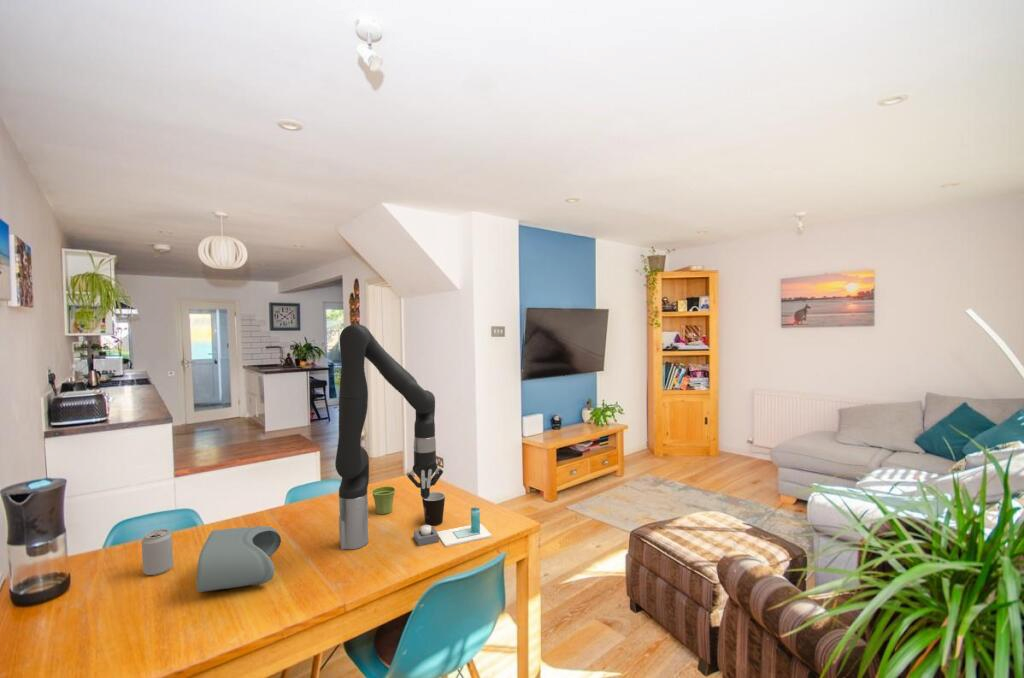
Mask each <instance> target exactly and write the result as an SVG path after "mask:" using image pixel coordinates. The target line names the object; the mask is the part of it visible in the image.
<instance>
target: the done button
mask: <svg viewBox="0 0 1024 678" xmlns="http://www.w3.org/2000/svg"><path fill="white" fill-rule="evenodd" d="M431 527H432V526H430V525H426V524H423V525H421V526H420V529H421V537H422V536H427V535H431Z"/></svg>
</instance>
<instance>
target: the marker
mask: <svg viewBox="0 0 1024 678" xmlns="http://www.w3.org/2000/svg"><path fill="white" fill-rule="evenodd" d="M480 523H481V508H480V507H471V508H470V525H471V532H472V533H479V532H480Z"/></svg>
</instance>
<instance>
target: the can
mask: <svg viewBox="0 0 1024 678" xmlns="http://www.w3.org/2000/svg"><path fill="white" fill-rule="evenodd" d="M173 551H174V550H173V534H172V533H171V532H170V530H169V529H168V528H158V529H155V530H151V531H148V532H147V533H145V534H144V535H143V539H142V540H141V553H142V554H141V556H142V558H141V559H142V573H143V574H145V575H147V576H149V575H154V576H158V575H157V574H159V575H162V574H164V573H166V572H168V571H169V570H170V569H171V568H172V567H173V566H174V553H173ZM167 570H168V571H167ZM161 573H162V574H161Z"/></svg>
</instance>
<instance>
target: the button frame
mask: <svg viewBox="0 0 1024 678" xmlns="http://www.w3.org/2000/svg"><path fill="white" fill-rule="evenodd" d="M437 532H438V531H437V530H436V529H435V527H434V526H431V535H427V536H422V537H421V528H420V529H417V530H416V529H415V530H413V539H414V540H415V542H416V544H417V546H418V547H421V546H426V545H427V546H428V545H431V544H435V543H436V544H437V543H439V542H440V538H439V535H438V533H437Z"/></svg>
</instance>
